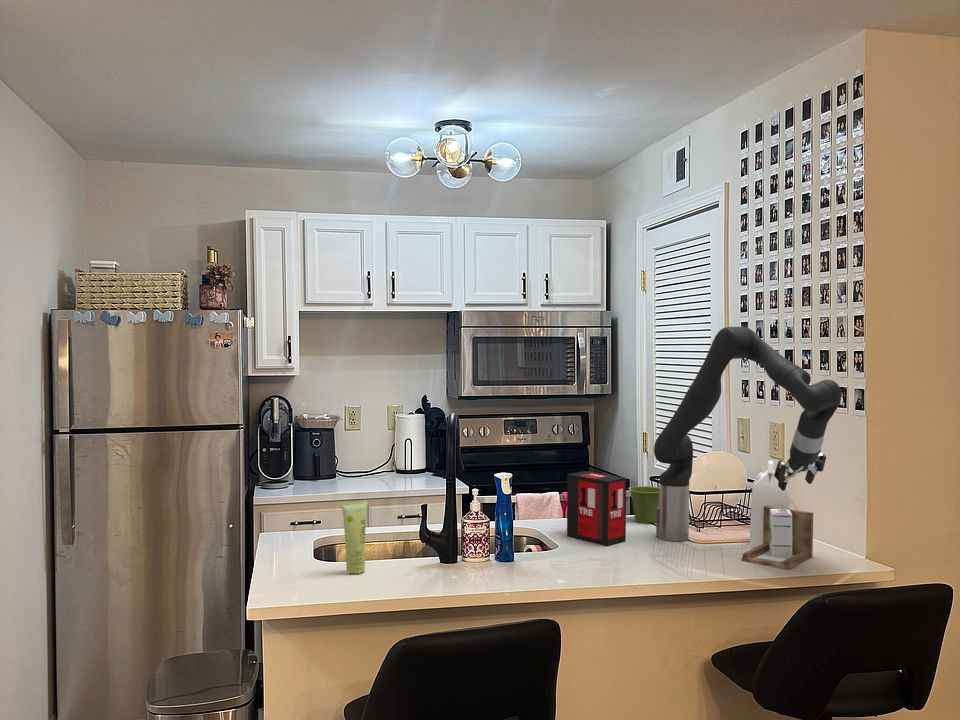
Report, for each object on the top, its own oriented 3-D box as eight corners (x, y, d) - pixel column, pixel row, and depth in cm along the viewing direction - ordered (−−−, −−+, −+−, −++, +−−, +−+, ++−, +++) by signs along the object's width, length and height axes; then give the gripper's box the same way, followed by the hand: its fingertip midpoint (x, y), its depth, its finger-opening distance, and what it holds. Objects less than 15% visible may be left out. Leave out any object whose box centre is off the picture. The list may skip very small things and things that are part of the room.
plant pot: (667, 525, 288) (667, 492, 287) (632, 525, 288) (632, 492, 287) (659, 517, 300) (659, 485, 299) (625, 517, 299) (625, 485, 299)
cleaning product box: (625, 541, 267) (626, 478, 266) (607, 546, 261) (607, 481, 260) (585, 531, 279) (585, 471, 278) (566, 536, 273) (567, 474, 272)
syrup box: (792, 564, 242) (793, 513, 242) (770, 562, 244) (771, 512, 243) (789, 558, 248) (790, 509, 247) (768, 557, 249) (769, 508, 249)
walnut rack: (740, 564, 242) (741, 515, 241) (764, 552, 255) (765, 505, 254) (789, 574, 233) (790, 523, 232) (812, 560, 246) (813, 512, 245)
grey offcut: (756, 561, 241) (756, 557, 241) (763, 557, 245) (763, 554, 245) (781, 565, 237) (781, 562, 237) (787, 562, 240) (787, 558, 240)
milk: (789, 553, 253) (791, 466, 252) (749, 550, 257) (750, 464, 256) (789, 543, 265) (790, 460, 264) (750, 540, 269) (751, 458, 267)
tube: (359, 576, 231) (358, 504, 230) (342, 574, 232) (341, 503, 231) (368, 570, 236) (367, 500, 235) (351, 568, 237) (350, 498, 237)
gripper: (821, 428, 237) (808, 470, 247) (776, 439, 234) (765, 481, 244) (838, 446, 232) (824, 488, 241) (792, 457, 228) (780, 500, 238)
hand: (794, 485), depth 243 cm, fingers open, 8 cm apart
